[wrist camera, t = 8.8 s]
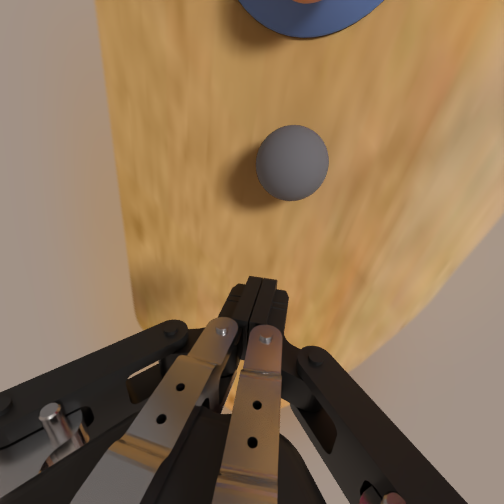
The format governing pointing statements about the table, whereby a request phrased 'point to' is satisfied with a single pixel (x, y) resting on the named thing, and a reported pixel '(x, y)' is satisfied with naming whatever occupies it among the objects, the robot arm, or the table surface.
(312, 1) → the object ball
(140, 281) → the table surface
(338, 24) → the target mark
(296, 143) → the gray ball
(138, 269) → the table surface
